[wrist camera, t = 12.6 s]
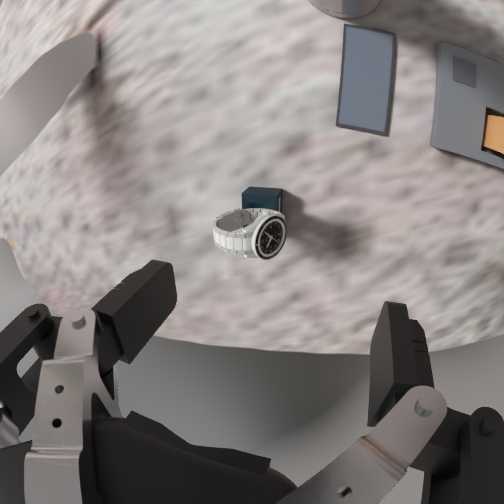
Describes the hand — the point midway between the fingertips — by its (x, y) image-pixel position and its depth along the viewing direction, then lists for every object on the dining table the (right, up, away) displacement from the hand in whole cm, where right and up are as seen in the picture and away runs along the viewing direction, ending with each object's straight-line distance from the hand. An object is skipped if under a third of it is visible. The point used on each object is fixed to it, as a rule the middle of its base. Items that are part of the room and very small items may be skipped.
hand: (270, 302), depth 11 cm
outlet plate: (+27, +19, +13) cm, 35 cm away
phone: (+12, +22, +17) cm, 30 cm away
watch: (+1, +8, +28) cm, 29 cm away
